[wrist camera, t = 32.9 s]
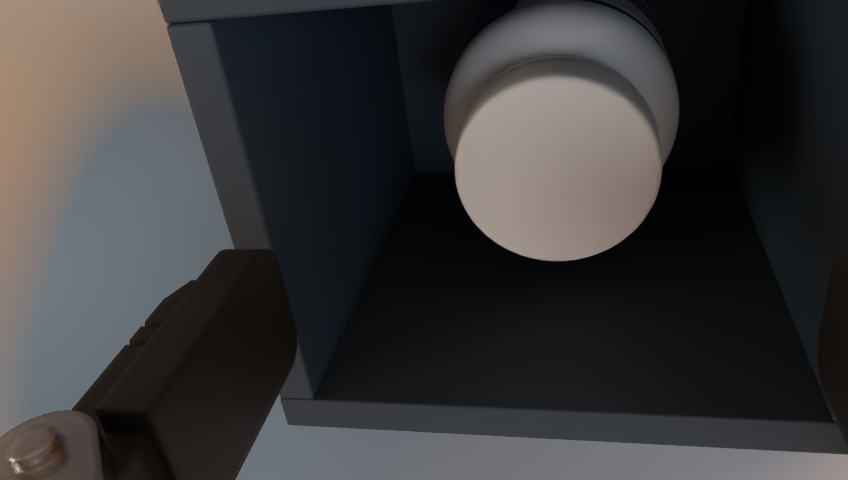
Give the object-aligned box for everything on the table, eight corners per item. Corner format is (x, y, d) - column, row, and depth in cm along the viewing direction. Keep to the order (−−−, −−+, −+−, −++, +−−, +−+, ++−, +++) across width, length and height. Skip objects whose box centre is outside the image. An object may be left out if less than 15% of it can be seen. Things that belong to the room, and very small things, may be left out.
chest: (401, 183, 26) (287, 426, 16) (355, -111, 21) (147, -27, 11) (749, 174, 23) (872, 457, 13) (788, -166, 18) (1032, -122, 8)
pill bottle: (495, 142, 23) (453, 302, 16) (455, -22, 21) (384, 75, 13) (666, 110, 22) (709, 272, 14) (644, -71, 19) (683, 8, 12)
